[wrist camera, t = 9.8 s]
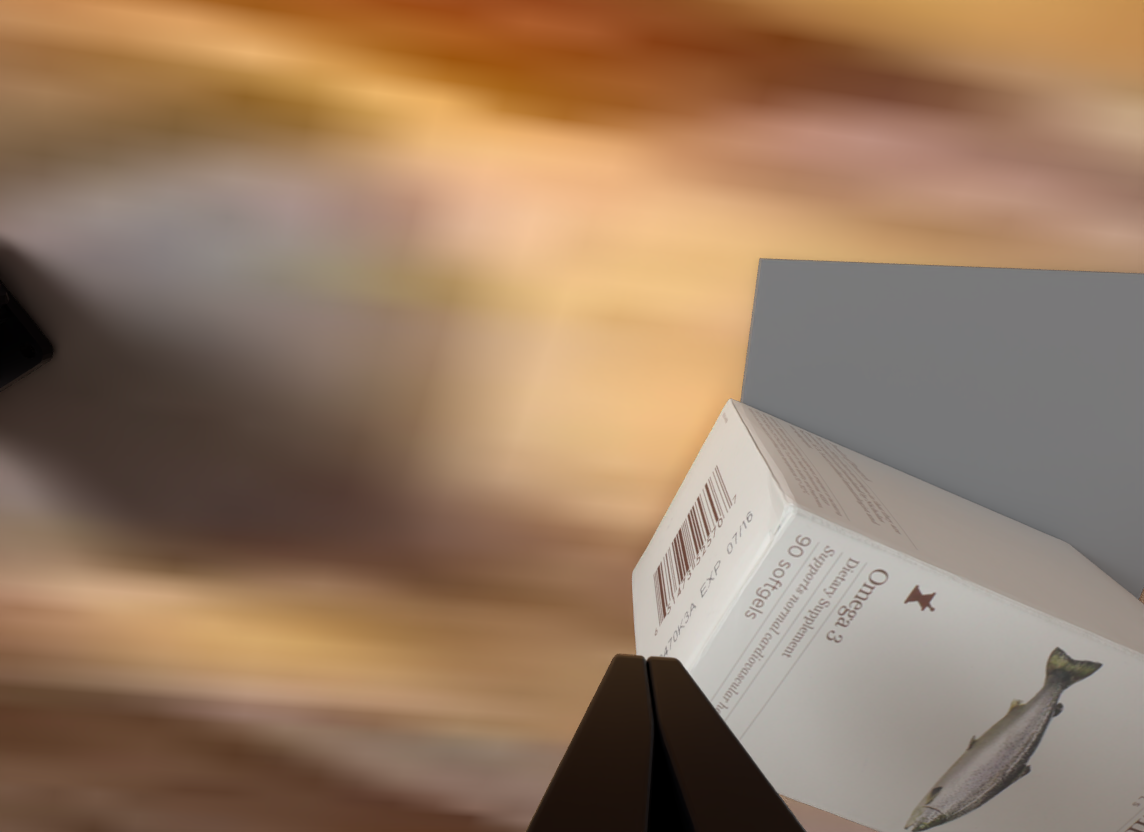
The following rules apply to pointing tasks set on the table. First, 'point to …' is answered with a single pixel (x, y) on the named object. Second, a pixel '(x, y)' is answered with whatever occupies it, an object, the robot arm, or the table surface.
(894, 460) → the mat
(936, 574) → the supplement box
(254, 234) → the table surface
